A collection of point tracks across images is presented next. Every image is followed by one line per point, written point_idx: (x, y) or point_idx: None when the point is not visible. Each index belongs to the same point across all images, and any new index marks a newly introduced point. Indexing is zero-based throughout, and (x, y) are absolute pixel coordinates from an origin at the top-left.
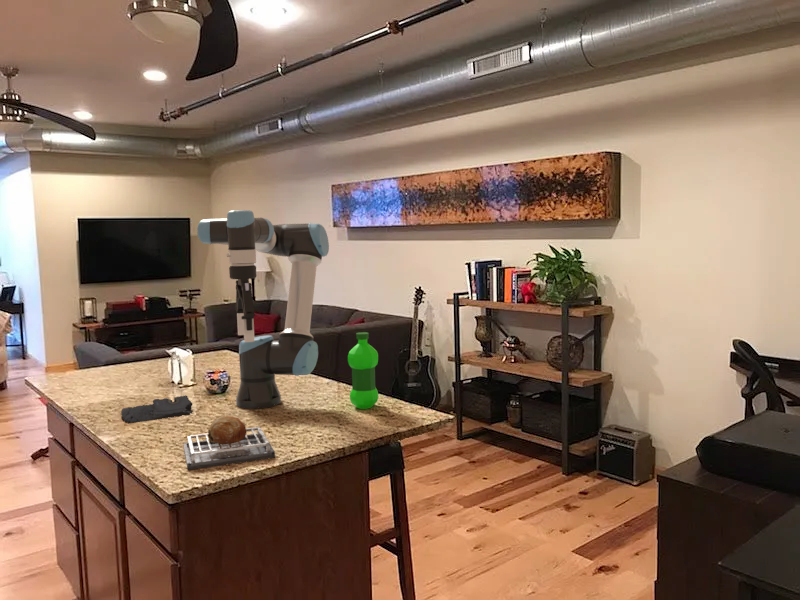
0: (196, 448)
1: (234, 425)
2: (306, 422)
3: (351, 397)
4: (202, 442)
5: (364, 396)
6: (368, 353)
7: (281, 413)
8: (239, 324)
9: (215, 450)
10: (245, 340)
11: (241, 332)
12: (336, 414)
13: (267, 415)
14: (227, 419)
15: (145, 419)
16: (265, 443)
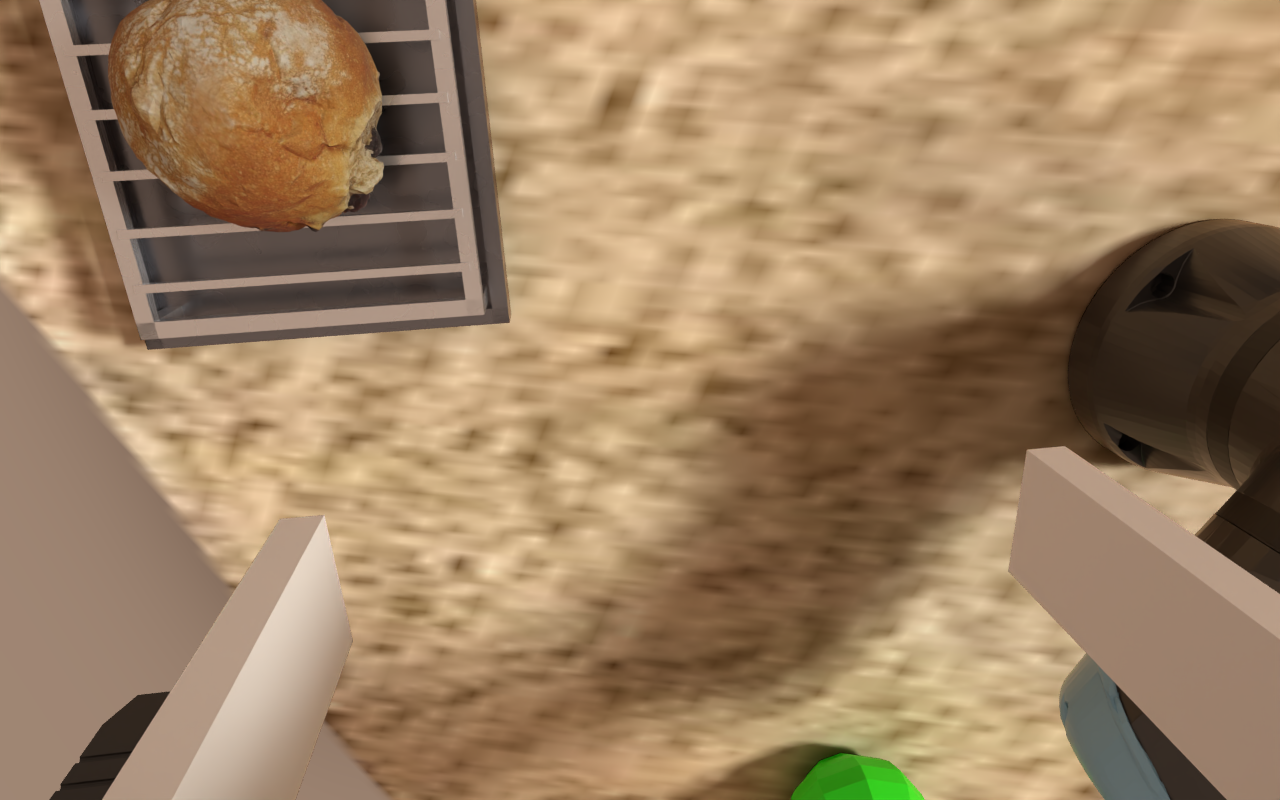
0: None
1: (157, 159)
2: (706, 535)
3: (850, 777)
4: None
5: None
6: None
7: (924, 440)
8: (1143, 568)
9: (43, 13)
10: (270, 545)
11: (1043, 515)
12: (777, 667)
13: (925, 369)
14: (167, 114)
15: None
16: (141, 318)
